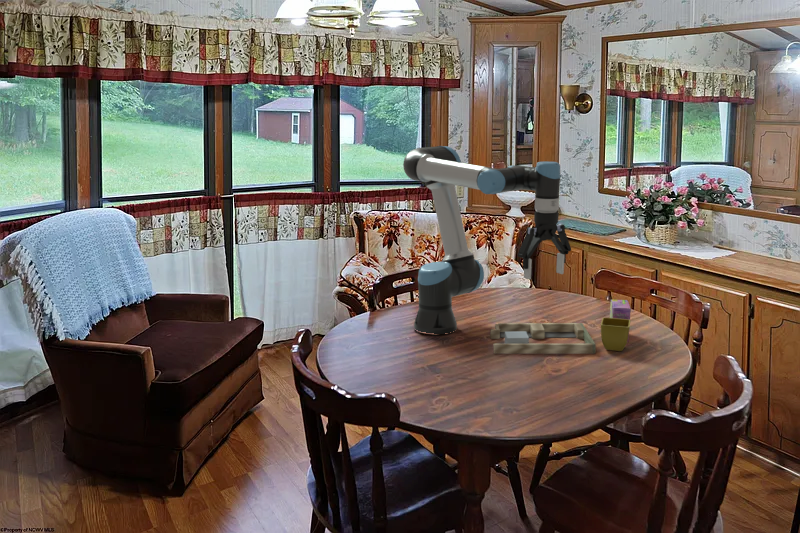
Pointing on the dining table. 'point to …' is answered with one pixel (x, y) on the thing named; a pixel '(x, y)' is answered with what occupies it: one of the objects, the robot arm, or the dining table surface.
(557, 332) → the box
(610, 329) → the flower pot
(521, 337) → the block
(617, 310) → the box
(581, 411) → the dining table surface
